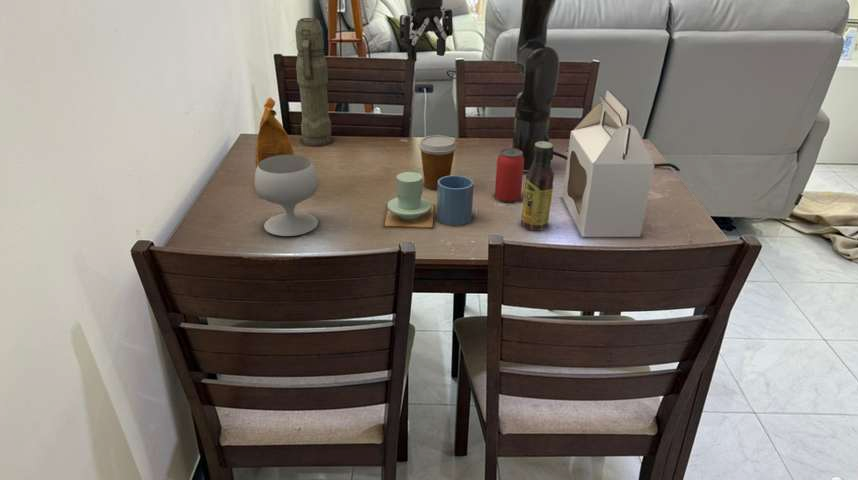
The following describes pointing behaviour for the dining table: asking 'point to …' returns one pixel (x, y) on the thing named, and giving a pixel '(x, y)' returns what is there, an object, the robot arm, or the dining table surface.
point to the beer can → (509, 175)
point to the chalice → (287, 192)
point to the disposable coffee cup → (436, 158)
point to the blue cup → (454, 200)
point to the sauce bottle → (538, 188)
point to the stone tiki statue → (312, 82)
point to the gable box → (607, 173)
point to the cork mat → (410, 220)
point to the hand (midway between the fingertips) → (426, 58)
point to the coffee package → (271, 136)
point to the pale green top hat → (409, 197)
